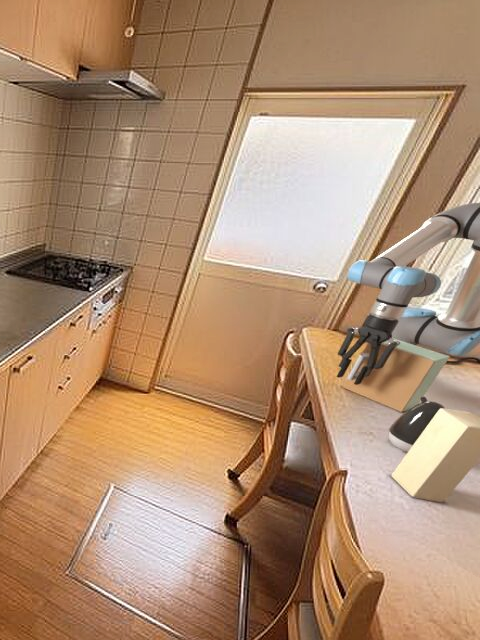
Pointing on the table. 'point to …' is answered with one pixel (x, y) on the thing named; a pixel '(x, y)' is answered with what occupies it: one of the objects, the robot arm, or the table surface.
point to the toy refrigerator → (441, 455)
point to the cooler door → (390, 377)
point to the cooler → (432, 374)
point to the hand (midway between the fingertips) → (348, 380)
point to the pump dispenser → (412, 424)
